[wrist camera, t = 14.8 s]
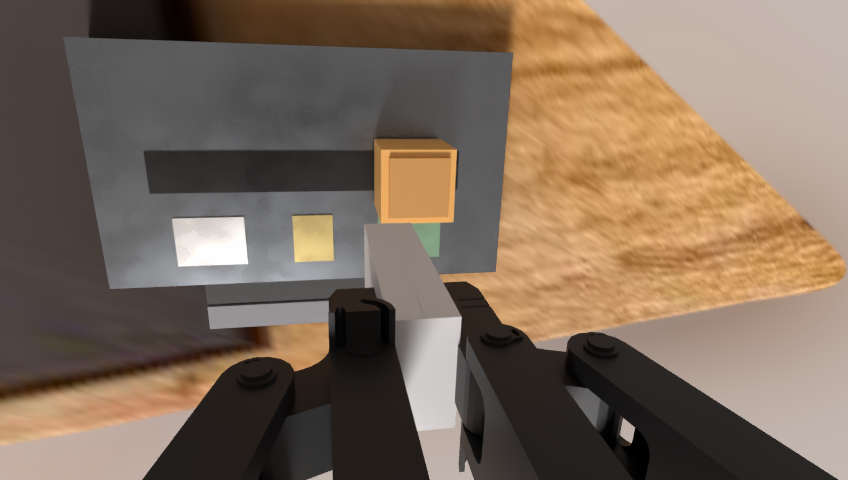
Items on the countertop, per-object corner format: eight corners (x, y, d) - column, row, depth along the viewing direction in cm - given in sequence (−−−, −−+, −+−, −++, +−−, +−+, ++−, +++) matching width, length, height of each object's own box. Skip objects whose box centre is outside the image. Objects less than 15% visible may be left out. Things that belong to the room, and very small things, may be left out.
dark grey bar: (212, 294, 35) (207, 304, 33) (209, 272, 34) (204, 281, 33) (415, 284, 37) (418, 293, 36) (415, 264, 37) (419, 272, 35)
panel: (127, 269, 33) (109, 289, 31) (88, 39, 29) (62, 36, 26) (482, 256, 38) (495, 272, 35) (497, 53, 33) (513, 52, 30)
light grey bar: (215, 317, 36) (210, 328, 34) (212, 296, 35) (207, 307, 34) (414, 306, 38) (418, 316, 37) (415, 286, 38) (418, 296, 36)
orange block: (374, 204, 31) (381, 225, 27) (374, 138, 30) (381, 150, 26) (438, 203, 32) (454, 223, 28) (441, 139, 31) (458, 150, 27)
